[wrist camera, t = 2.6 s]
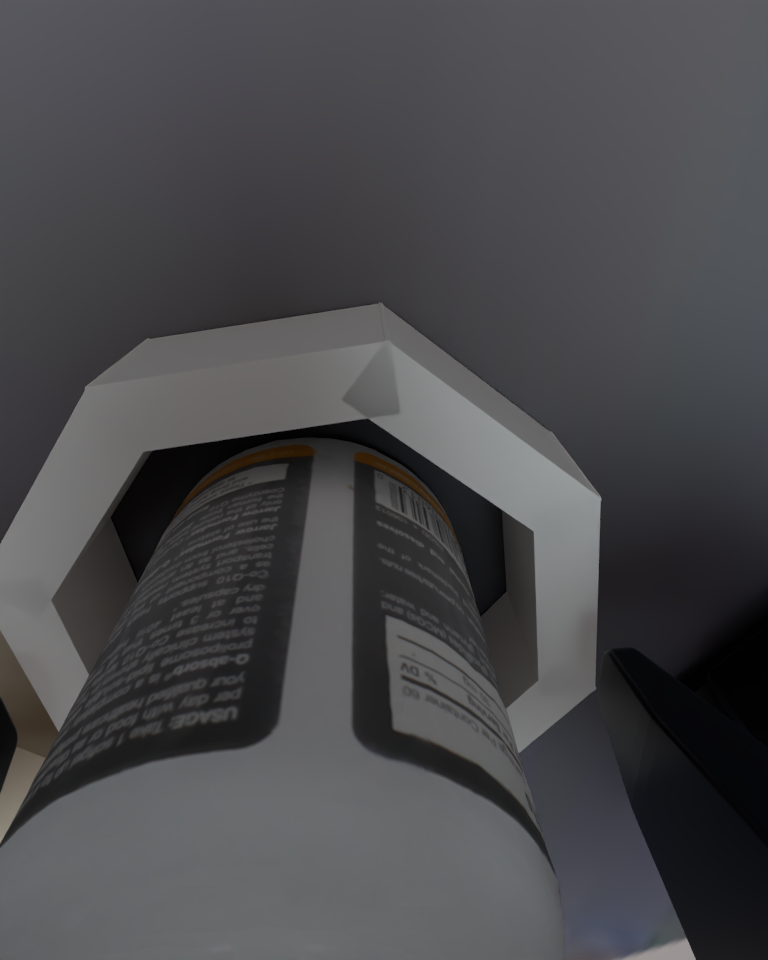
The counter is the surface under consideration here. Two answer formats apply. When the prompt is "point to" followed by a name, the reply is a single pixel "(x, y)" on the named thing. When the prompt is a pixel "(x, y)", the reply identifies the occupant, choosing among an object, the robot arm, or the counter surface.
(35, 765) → the socket plate
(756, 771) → the robot arm
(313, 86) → the counter surface
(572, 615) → the octagonal ring
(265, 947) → the pill bottle
